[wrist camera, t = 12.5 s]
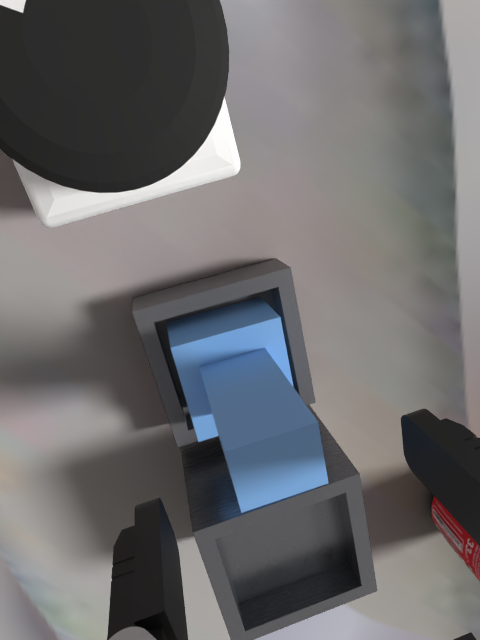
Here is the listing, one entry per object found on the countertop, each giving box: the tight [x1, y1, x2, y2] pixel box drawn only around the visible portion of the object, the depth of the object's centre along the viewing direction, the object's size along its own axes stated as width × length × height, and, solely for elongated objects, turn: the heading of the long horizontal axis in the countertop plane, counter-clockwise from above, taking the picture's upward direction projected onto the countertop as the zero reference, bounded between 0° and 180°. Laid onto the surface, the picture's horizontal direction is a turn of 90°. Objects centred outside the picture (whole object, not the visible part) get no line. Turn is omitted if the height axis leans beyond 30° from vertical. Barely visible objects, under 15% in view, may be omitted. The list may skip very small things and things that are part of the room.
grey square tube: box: [181, 405, 377, 640], centre depth 24 cm, size 8×8×8 cm
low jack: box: [132, 258, 315, 447], centre depth 23 cm, size 8×8×2 cm
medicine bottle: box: [0, 0, 240, 227], centre depth 14 cm, size 7×7×12 cm
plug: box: [166, 297, 328, 513], centre depth 19 cm, size 5×5×10 cm
